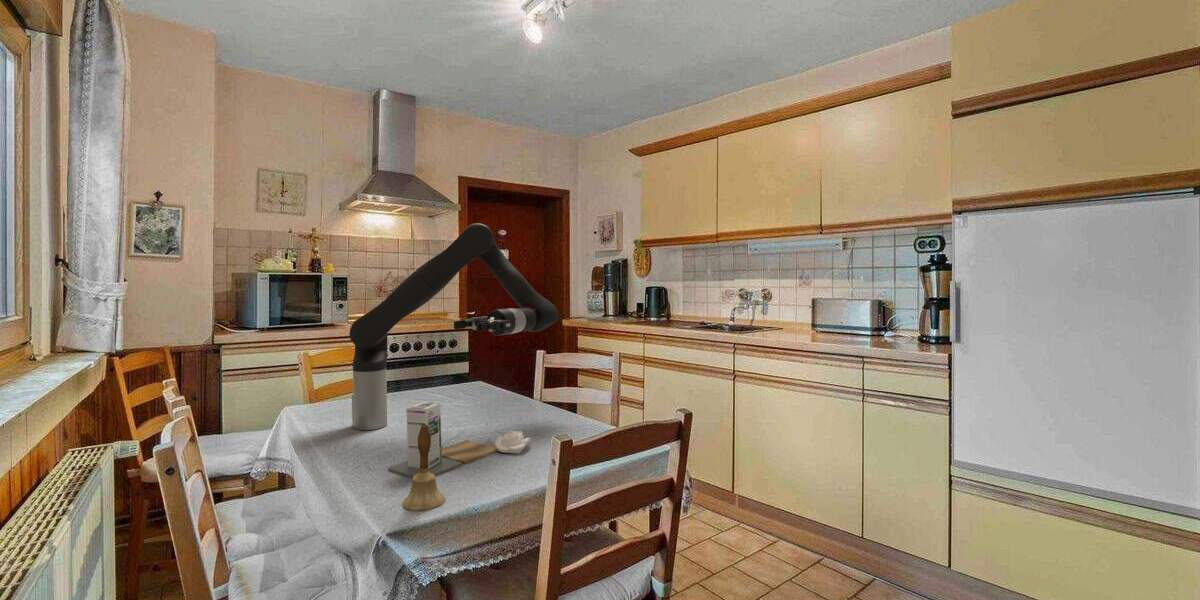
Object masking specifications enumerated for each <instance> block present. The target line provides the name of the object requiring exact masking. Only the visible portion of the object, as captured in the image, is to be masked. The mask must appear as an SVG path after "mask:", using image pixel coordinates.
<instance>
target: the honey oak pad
mask: <svg viewBox="0 0 1200 600" xmlns="http://www.w3.org/2000/svg"><path fill="white" fill-rule="evenodd" d="M441 450H442V457H443V458H446V459H450V460H453V461H457V462H461V463H462V465H467V464H470V463H471V462H475V461H477V460H479V459H481V458H485V457H486V456H489V455H491V454H494V453H497V452H499V451H498V450H497V448H496V447H495V446H493V445H489V444H488V445H487V444H484V443H480V442H475V441H472V440H467V439H466V440H464V441H461V442H457V443H455V444H452V445H449V446H446V447H443V448H441ZM496 451H497V452H496Z"/></svg>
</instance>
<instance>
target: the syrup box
mask: <svg viewBox="0 0 1200 600" xmlns="http://www.w3.org/2000/svg"><path fill="white" fill-rule="evenodd" d="M405 410H406V412H405V413H406V443H407V445H406V446H407V461H408V466H409V467H412V468H419V469H420V452H419V449H418V435H419V432H420V429H421V426H422V425H428V429H429V432H430V435H431V446H430V450H429V454H428V466H429V467H428V469H430V468H431V467H432V466H434V465H436V464H438V463H439V462H441V461H442V450H441V449H442V428H441V427H442V424H441V423H442V422H441V421H442V420H441V403H439V402H431V401H428V402H427V401H425V402H424V401H420V402H418V403H416V404H414V405H411V406H408V407H406V409H405Z"/></svg>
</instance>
